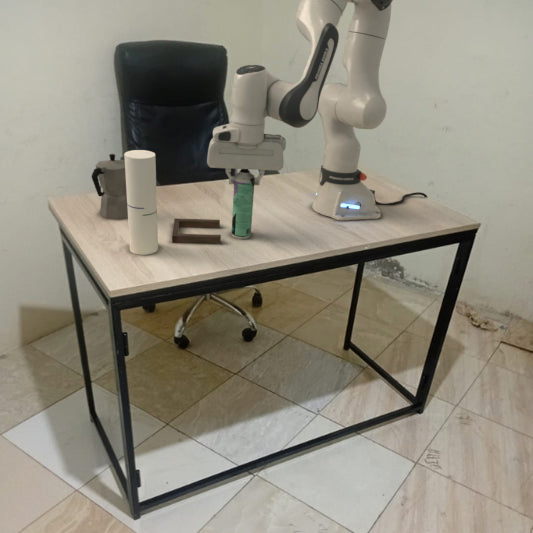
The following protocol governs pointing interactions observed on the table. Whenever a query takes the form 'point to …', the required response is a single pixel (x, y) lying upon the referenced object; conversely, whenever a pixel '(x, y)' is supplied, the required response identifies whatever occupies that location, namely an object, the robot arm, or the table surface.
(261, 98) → the robot arm
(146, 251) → the cylindrical container
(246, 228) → the spray can
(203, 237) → the frame
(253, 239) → the table surface
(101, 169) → the coffeepot
